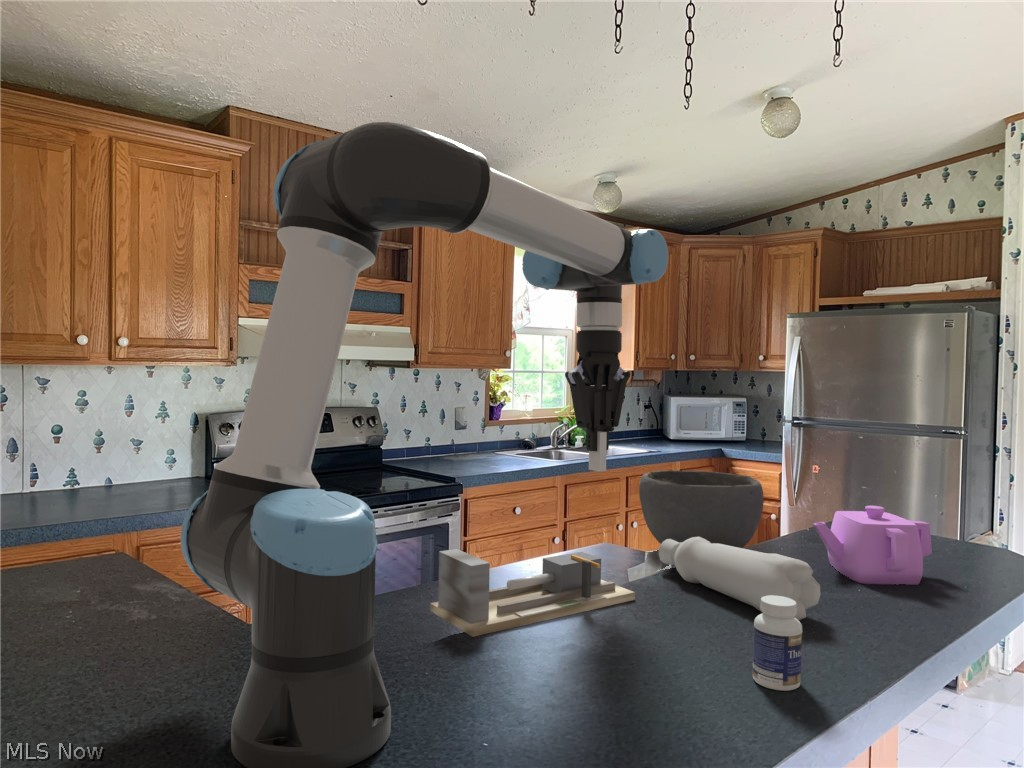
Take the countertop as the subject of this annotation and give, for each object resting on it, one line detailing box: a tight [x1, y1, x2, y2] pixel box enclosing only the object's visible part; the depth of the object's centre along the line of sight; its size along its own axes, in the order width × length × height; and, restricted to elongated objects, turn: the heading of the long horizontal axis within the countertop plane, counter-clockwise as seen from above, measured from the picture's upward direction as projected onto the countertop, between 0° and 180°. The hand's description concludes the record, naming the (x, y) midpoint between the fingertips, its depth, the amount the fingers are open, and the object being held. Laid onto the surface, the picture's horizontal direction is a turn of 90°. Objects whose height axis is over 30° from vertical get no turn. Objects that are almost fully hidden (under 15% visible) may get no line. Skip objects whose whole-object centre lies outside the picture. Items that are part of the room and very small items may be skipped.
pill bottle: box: [752, 595, 803, 692], centre depth 87 cm, size 5×5×10 cm
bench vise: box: [429, 548, 636, 638], centre depth 113 cm, size 12×30×9 cm, turn 125°
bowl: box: [638, 469, 765, 549], centre depth 148 cm, size 24×24×15 cm
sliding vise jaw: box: [506, 551, 602, 593], centre depth 113 cm, size 9×16×5 cm, turn 125°
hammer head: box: [582, 560, 591, 598], centre depth 112 cm, size 1×1×5 cm
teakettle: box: [812, 505, 933, 586], centre depth 134 cm, size 17×17×12 cm
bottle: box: [658, 537, 821, 621], centre depth 120 cm, size 9×9×30 cm
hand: (597, 470), depth 124 cm, fingers closed
